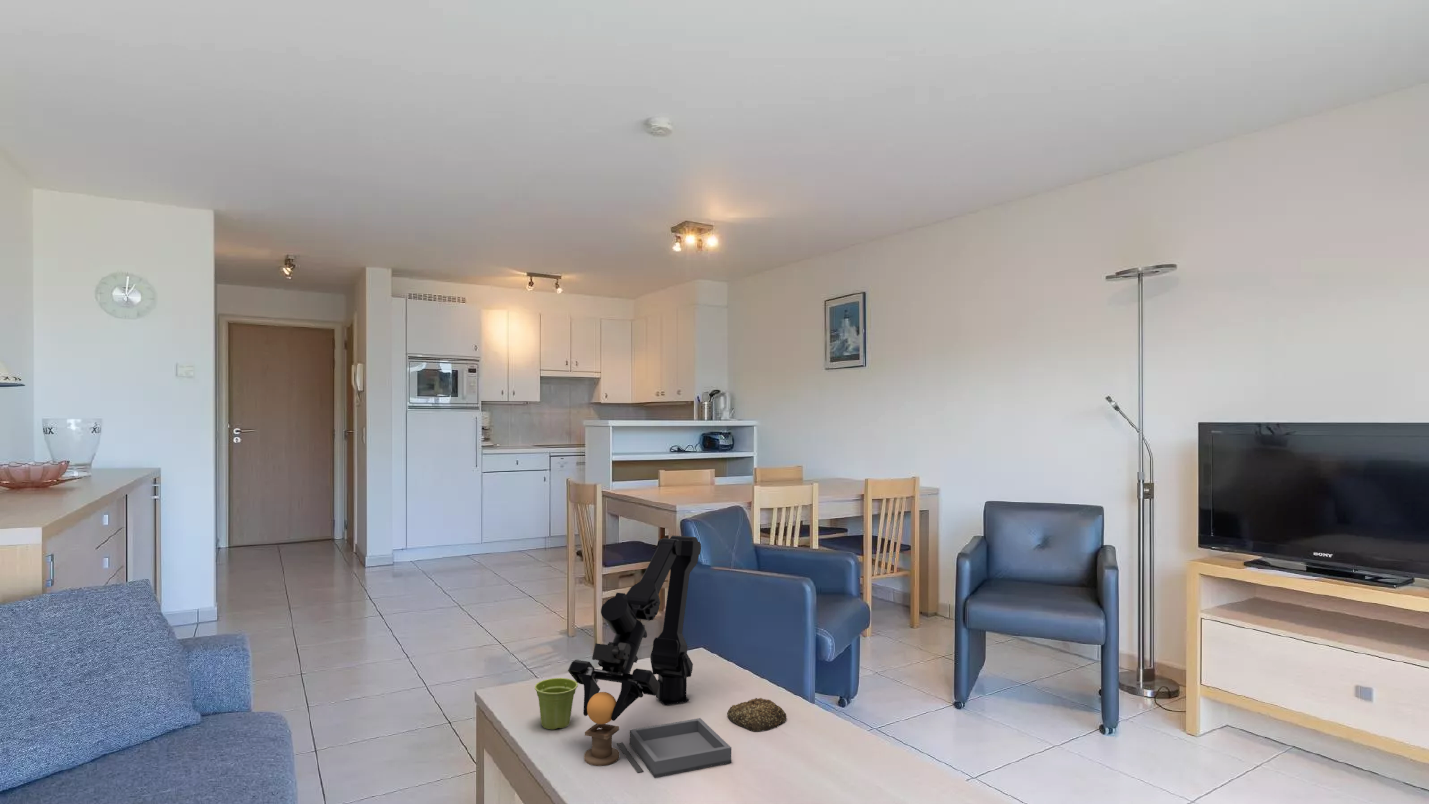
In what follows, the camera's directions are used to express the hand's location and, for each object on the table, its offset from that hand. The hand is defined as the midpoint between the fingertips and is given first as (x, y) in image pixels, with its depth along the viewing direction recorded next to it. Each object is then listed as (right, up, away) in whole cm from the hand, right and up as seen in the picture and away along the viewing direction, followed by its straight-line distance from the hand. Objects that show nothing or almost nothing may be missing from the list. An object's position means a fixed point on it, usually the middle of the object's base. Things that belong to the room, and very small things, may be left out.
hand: (598, 717), depth 150 cm
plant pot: (-12, -9, +17) cm, 23 cm away
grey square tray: (+16, -9, +4) cm, 18 cm away
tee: (0, -9, +1) cm, 9 cm away
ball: (+1, -2, +1) cm, 2 cm away
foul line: (+6, -9, +1) cm, 11 cm away
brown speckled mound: (+33, -10, +21) cm, 41 cm away
